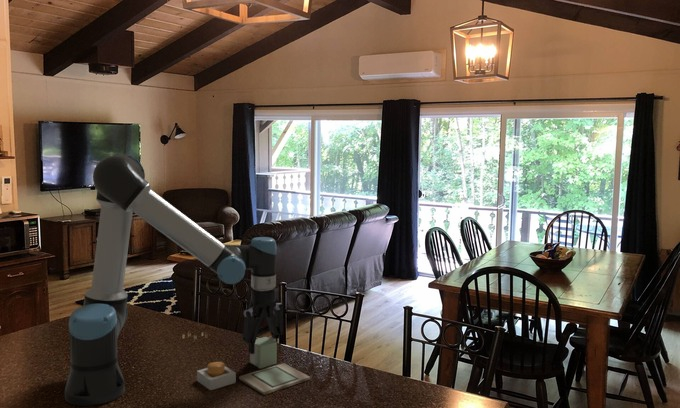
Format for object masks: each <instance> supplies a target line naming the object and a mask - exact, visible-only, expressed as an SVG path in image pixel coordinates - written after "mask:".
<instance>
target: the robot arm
mask: <svg viewBox="0 0 680 408" xmlns="http://www.w3.org/2000/svg"><path fill="white" fill-rule="evenodd" d="M145 174H146V173H145V169H144V167H143V165H142V163H141V162H140V161H139V160H138V159H136V158H135V157H133V156H131V155H129V154H122V153H119V154H114V155H111V156H107V157H105V158H103V159H101V160H100V161H99V162H98V163H97V164H96V165H95V168H94V169H93V172H92V181H93V186H95V189H96V201H97V202H98V204H99V205H100V214H99V222H98V228H97V229H98V231H97V237H96V238H97V240H96V244H95V245H96V246H95V255H94V263H93V269H92V270H93V271H92V272H93V273H92V281H91V287H89V289H87V290H86V291H85V292H84V299H83V306H81V307H78V308H76V309H74V310H73V311H72V313H71V314H70V315H69V321H68V331H69V350H70V351H69V352H70V354H69V356H70V371H69V375H68V377H67V381H66V383H65V388H64V400H65V402H67V403H68V404H71V405H73V406H77V407H78V406H79V407H80V406H81V407H87V406H89V407H90V406H98V405H102V404H107V403H110V402H112V401H114V400H116V399H118V398H120V397H121V396H122V395H123V394H124V393H125V391H126V382H125V377H124V375H123V372H122V370H121V368H120V366H119V362H118V337H119V335H120V333H121V331H122V328H123V327H124V326H125V323H126V322H127V319H128V307H127V306H128V305H127V304H128V303H127V302H128V293H127V292H126V290H125V289H124V284H125V283H124V282H125V275H126V268H127V267H126V266H127V261H128V254H129V253H128V252H129V243H130V238H131V237H130V236H131V235H130V234H131V227H132V222H133V221H132V220H133V213H134V214H135V215H136V216H138V217H140V218H141V219H142V220H144V221H145V222H146V223H148V224H149V225H150V226H152V227H153V228H155V229H156V230H157V231H158V232H160V233H161V234H163V235H164V236H166V238H168V239H169V240H171V241H173V242H174V243H175V244H176V245H178V246H179V247H180V248H182V249H183V250H184V251H186V252H187V253H188V254H190V255H191V256H193V257H194V258H195V259H197V260H198V261H200V262H201V263H202V264H203V265H205V266H206V267H207V268H209V269H210V270H211V271H213V272H214V273H215V274H217V276H218V278H219V279H220V280H221V282H223V283H225V284H228V285H234V284H238V283H240V281H242V280H243V278H244V277H245V274H246V270H247V271H248V270H250V271H251V272H250V273H251V275H250V278H251V279H250V280H251V281H250V286H251V290H250V295H251V296H250V300H251V305H250V308H248V309H243V310H242V314H243V326H242V327H243V329H242V341H243V342H245V343H247V344H248V353H249V354H250V353H251V362H252V363H254V364H255V365H256V364H257V349H258V343H256V339H258V338H257V337H258V333H259V330H260V326H261V323H262V322H263V319H266V321H267V326H268V329H269V333H270V336H268V338H269V339H271V340H274V341H276V342H277V346H278V340H279V339H280V338H281V336H283V334H284V321H283V319H284V317H283V310H284V304H283V303H281V302H276V299H277V289H276V287H277V242H276V240H275V239H274V238H273V237H269V236H258V237H257V236H256V237H253V238H252V239H251V242H250V243H249V244H224V243H222V242H221V241H220V240H219V239H217V238H216V237H215V236H213V235H212V234H211V233H209V232H208V231H207V230H206V229H204V228H203V227H201V226H200V225H199V224H197V223H196V222H195V221H194V220H192V219H191V218H190V217H188V216H187V215H186V214H184V213H183V212H181V211H180V210H179V209H178V208H176V207H175V206H174V205H173V204H171V203H170V202H169V201H167V200H166V199H164V197H162V196H160V195H159V194H158V193H156V192H155V191H154V190H152V188H151V184H150V182H148V180H146V179H145V178H146V175H145ZM255 365H254V366H255Z"/></svg>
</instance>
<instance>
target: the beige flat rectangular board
mask: <svg viewBox="0 0 680 408" xmlns="http://www.w3.org/2000/svg"><path fill="white" fill-rule="evenodd" d="M238 380H239V381H241V382H243V383H244V384H246V385H247V386H248V387H251V388H252V389H254V390H255V391H257V392H258V393H260V394H261V395H263V396H265V395H268V394H271V393H274V392H277V391H280V390H283V389H286V388H290V387H291V386H295V385H298V384H302V383H304V382H307V381H310V380H311V376H309V375H307V374H306V373H303V372H302V371H300V370H297V369H296V368H294V367H292V366H290V365H289V364H287V363H285V362H283V363H280V364H275V365H271V366H268V367H265V368H261V369H259V370H256V371H253V372H252V371H251V372H249V373H246V374H242V375H240V376H239V377H238Z"/></svg>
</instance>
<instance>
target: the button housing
mask: <svg viewBox="0 0 680 408" xmlns="http://www.w3.org/2000/svg"><path fill="white" fill-rule="evenodd" d="M236 374H237V373H236V372H235V371H234V370H232V369H230V368H229V367H227V366H226V365H225V374H223V375H219V376H216V377H211V376H209V375H208V367H205V368H202V369H199V370H196V382H198V383H200V385H202V386H203V387H205V388H206V389H208V390H210V391H213V390H217V389H219V388H223V387H225V386H229V385H232V384H236V382H237V381H236V380H237V379H236V378H237V375H236Z"/></svg>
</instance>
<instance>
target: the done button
mask: <svg viewBox="0 0 680 408" xmlns="http://www.w3.org/2000/svg"><path fill="white" fill-rule="evenodd" d="M225 366H226V365H225V363H224V362H223V361H213V362H210V363H208V364H207V368H208V375H209V376H211V377H216V376H219V375H223V374H225Z"/></svg>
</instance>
